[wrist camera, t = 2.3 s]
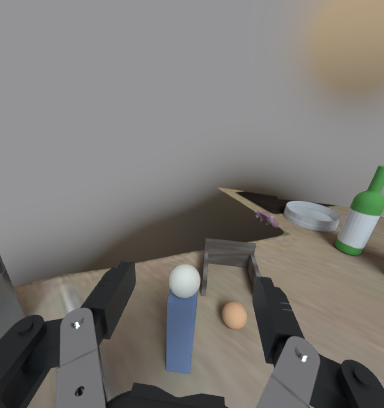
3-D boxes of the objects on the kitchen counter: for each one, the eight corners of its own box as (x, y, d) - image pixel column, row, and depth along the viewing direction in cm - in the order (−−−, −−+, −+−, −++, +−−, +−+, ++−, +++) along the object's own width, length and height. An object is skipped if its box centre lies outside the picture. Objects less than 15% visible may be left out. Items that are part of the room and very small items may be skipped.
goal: (259, 303, 45) (267, 277, 42) (201, 295, 46) (204, 269, 43) (250, 265, 57) (255, 243, 54) (203, 260, 58) (205, 238, 55)
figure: (190, 375, 32) (200, 282, 24) (164, 371, 32) (165, 278, 24) (193, 347, 36) (202, 259, 28) (170, 343, 36) (172, 255, 28)
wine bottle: (335, 241, 73) (369, 162, 62) (361, 250, 69) (403, 167, 57) (331, 249, 68) (367, 165, 56) (359, 260, 63) (404, 170, 52)
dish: (336, 218, 93) (339, 209, 91) (337, 238, 76) (342, 227, 74) (287, 206, 104) (289, 197, 102) (279, 221, 87) (281, 211, 85)
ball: (216, 325, 40) (219, 308, 38) (227, 308, 44) (230, 292, 42) (238, 340, 37) (243, 323, 35) (248, 321, 41) (252, 304, 39)
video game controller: (254, 222, 87) (252, 211, 83) (261, 216, 88) (259, 205, 84) (272, 232, 79) (270, 221, 75) (280, 226, 80) (278, 214, 76)
